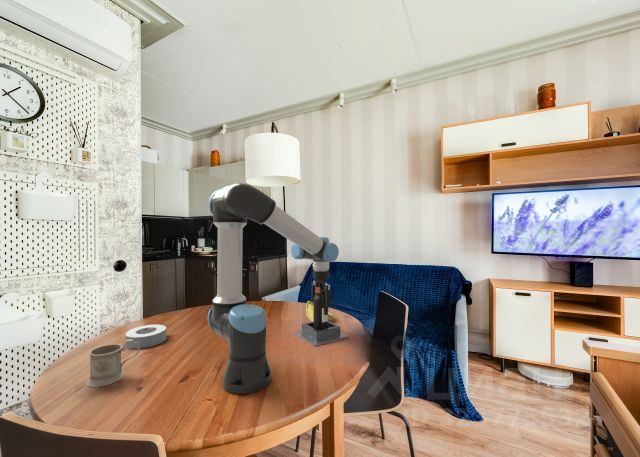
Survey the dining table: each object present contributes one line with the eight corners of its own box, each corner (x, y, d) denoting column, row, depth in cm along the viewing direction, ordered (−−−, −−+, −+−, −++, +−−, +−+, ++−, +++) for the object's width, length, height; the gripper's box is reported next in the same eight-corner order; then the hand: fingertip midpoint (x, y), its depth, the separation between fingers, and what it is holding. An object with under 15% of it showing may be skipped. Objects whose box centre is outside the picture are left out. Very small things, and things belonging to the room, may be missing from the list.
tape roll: (153, 349, 115) (153, 336, 115) (116, 349, 115) (116, 336, 115) (172, 335, 130) (173, 324, 130) (140, 335, 130) (140, 324, 130)
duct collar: (314, 346, 118) (314, 335, 118) (294, 333, 133) (294, 323, 133) (347, 337, 128) (348, 327, 128) (325, 326, 143) (325, 316, 143)
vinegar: (328, 328, 133) (328, 286, 133) (326, 333, 127) (327, 288, 127) (314, 327, 134) (314, 285, 134) (312, 332, 128) (312, 288, 128)
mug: (79, 389, 85) (80, 350, 85) (95, 373, 95) (96, 338, 95) (133, 382, 89) (134, 344, 90) (143, 368, 99) (144, 334, 99)
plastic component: (335, 316, 152) (321, 311, 147) (330, 329, 151) (315, 324, 146) (319, 305, 169) (306, 299, 165) (314, 316, 168) (301, 311, 164)
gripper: (303, 268, 137) (303, 315, 136) (326, 273, 121) (325, 326, 120) (316, 267, 141) (316, 313, 140) (339, 271, 125) (339, 323, 125)
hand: (320, 319), depth 130 cm, fingers closed on vinegar, 6 cm apart
